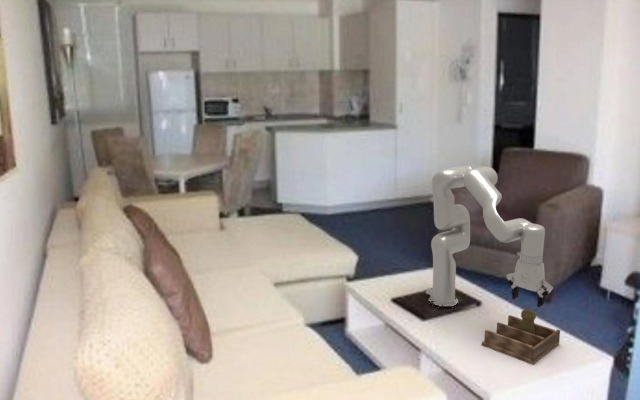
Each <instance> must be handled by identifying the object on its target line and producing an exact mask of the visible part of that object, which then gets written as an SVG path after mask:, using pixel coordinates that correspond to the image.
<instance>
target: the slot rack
mask: <svg viewBox="0 0 640 400" xmlns="http://www.w3.org/2000/svg"><path fill="white" fill-rule="evenodd" d="M507 317H508V318H507V324H504V323H502V322H496V332H494V331H491V330H489V329H485V330H484V339H483V341H481V346H482V347H485V348H488V349H491V350H494V351H496V352H499V353H501V354H504V355H507V356H509V357H512V358H514V359H518V360H520V361H522V362H525V363H528V364H531V365H535V364H536V363H537V362H538V361H540V360H541V359H542V358H543V357H545V356H547V354H549V353H550V352H551V351H553V350H554V349H555V348H557V347H558V346H559V345H560V337H561V330H560V329H553V328H551V327H547V326H544V325H541V324H538V323H536V322H534V327H535V334H532V333H529V332H526V331H523V330H520V327H521V322H522V318H521V317H520V318H519V317H518V316H517V317H516V316H513V315H508V316H507Z"/></svg>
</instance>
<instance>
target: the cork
mask: <svg viewBox="0 0 640 400" xmlns="http://www.w3.org/2000/svg"><path fill="white" fill-rule="evenodd" d="M520 318H521V319H522V322H521V327H520V330H523V331H526V332H529V333H532V334H535V327H534V323H535V320H536V319H537V314H536V311H534V310H532V309H530V308H529V309H527V308H526V309H522V311H521V314H520Z"/></svg>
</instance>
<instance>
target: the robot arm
mask: <svg viewBox="0 0 640 400" xmlns="http://www.w3.org/2000/svg"><path fill="white" fill-rule="evenodd" d="M497 183H498V173H497V172H496V170H494V168H493V167H490V166H485V165H461V166H455V167H449V168H448V167H447V168H444V169H441V170H438V171H437V172H435V173H434V175H433V176H432V178H431V191H432V197H433V220H434V221H433V222H434V226H435V227H436V229H438V230H441V231H443V232H440V233H438V234H436V235H434V236H433V237H432V239H431V242H430V246H431V252H432V287H431V288H430V287H427V288H426V291H425V294H427V295H429V297H428V302H429V301H430V302H431V301H434V302H433V303H434V304H435V305H439V306H442V305H443V306H454V305H456V304H457V303H458V304H459V299H458V298H457V297H456V278H457V277H456V275H457V271H456V269H457V264H456V263H457V262H456V260H455V258H454V257H453V254H455V253H459V252H463V251H465V250H467V249H468V248H469V246H470V244H471V217H470V216H471V215H470V213H469V211H468V209H467V208H466V206H464V205H463V204H458V203H457V204H455V195H454V194H453V192H452V189H458V188H462V187H463V188H464V187H465V188H466V189H467V190H468V192H469V193H470V194H471V195H472V196H473V197H474V199H475V200H476V201H477V203H478V204H479V205H480V206H481V208H482V215H483V220H484V224H485V226H486V228H487V229H488V231H489V232H490V233H491V234H492V235H493V236H494V238H495V239H496V240H498V241H499V242H501V243H511V242H515V241H521V246H520V251H517V252H516V255H517V256H519V258H518V259H517V261H516V264H515V268H514V272H512V273H508V274H506V279H507V282H508V284H509V285H510V288H511V296H512V299H513V300H515V299H517V298H519V292H520V291H519V289H520V288H521V289H524V290H528V291H531V292H534V293H537V295H538V297H537V303H536V307H537V308H540V307H542V306H544V303H545V296H547V295H549V294H550V293H551V291H552V290H553V289H554V287H553V286H552V285H551V284H550V283H549V282H547V281H546V279H545V278H546V276H545V275H546V273H545V264H544V262H543V256H544V246H545V237H546V229H545V227H544V226H543V225H540V224H537V223H533V222H531V221H529V220H527V219H525V218H522V217H521V218H520V217H519V218H514V219H510V220H506V221H504V220H503V218H502V217H501V216H500V215H499V213H498V211H497V206H498V204H500V202H501V201H502V198H503V197H502V196H503V195H502V193H501V192H500V191H499V190H498V189H497V187H496V186H495V185H497ZM451 229H452V230H451ZM446 230H448V231H446ZM544 288H546V290H545V289H544ZM455 298H456V299H455ZM430 299H431V300H430Z"/></svg>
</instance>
